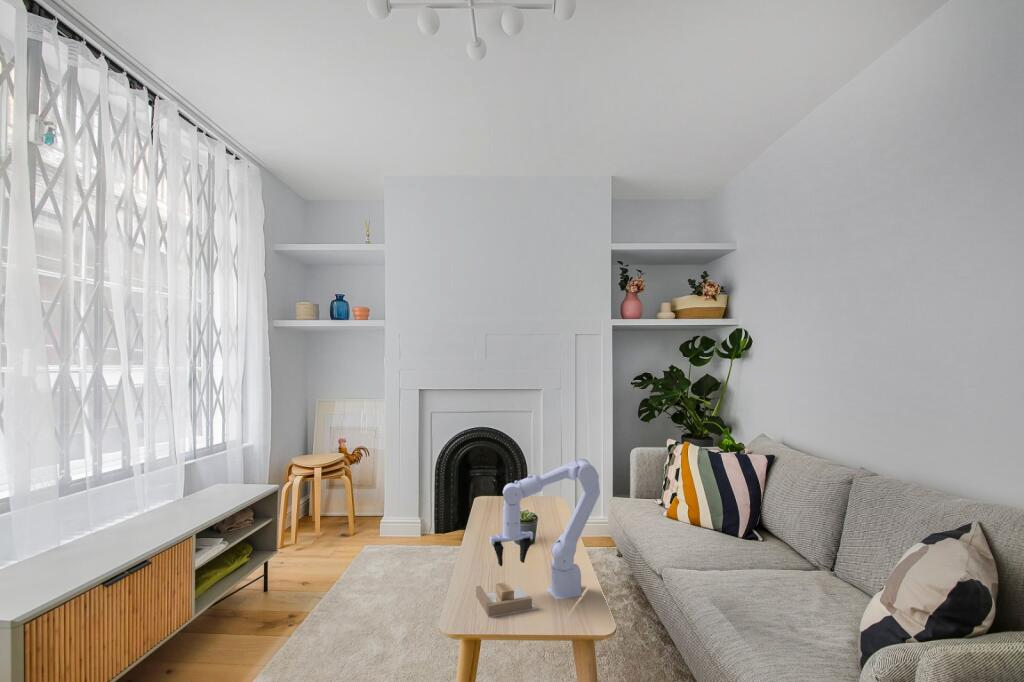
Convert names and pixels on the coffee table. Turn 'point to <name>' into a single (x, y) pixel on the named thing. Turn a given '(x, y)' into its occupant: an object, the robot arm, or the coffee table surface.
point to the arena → (504, 603)
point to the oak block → (504, 592)
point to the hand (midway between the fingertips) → (511, 563)
